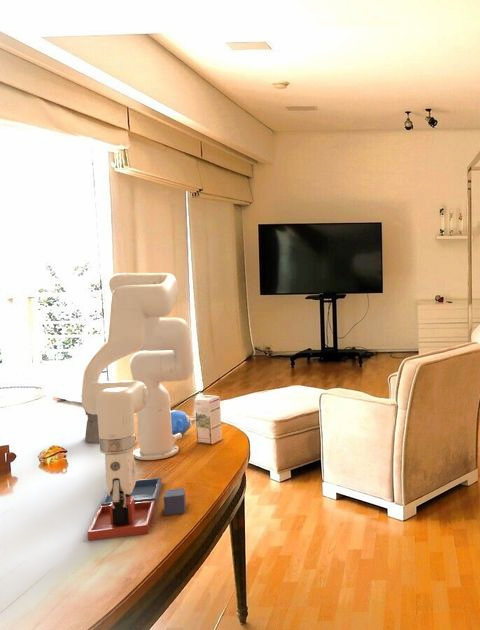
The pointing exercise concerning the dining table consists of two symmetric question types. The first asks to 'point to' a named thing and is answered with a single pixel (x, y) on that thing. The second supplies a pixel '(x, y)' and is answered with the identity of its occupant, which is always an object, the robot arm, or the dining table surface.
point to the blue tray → (141, 491)
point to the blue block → (175, 501)
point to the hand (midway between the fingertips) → (123, 518)
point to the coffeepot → (92, 428)
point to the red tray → (140, 524)
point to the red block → (130, 509)
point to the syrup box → (208, 419)
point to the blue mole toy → (180, 422)
